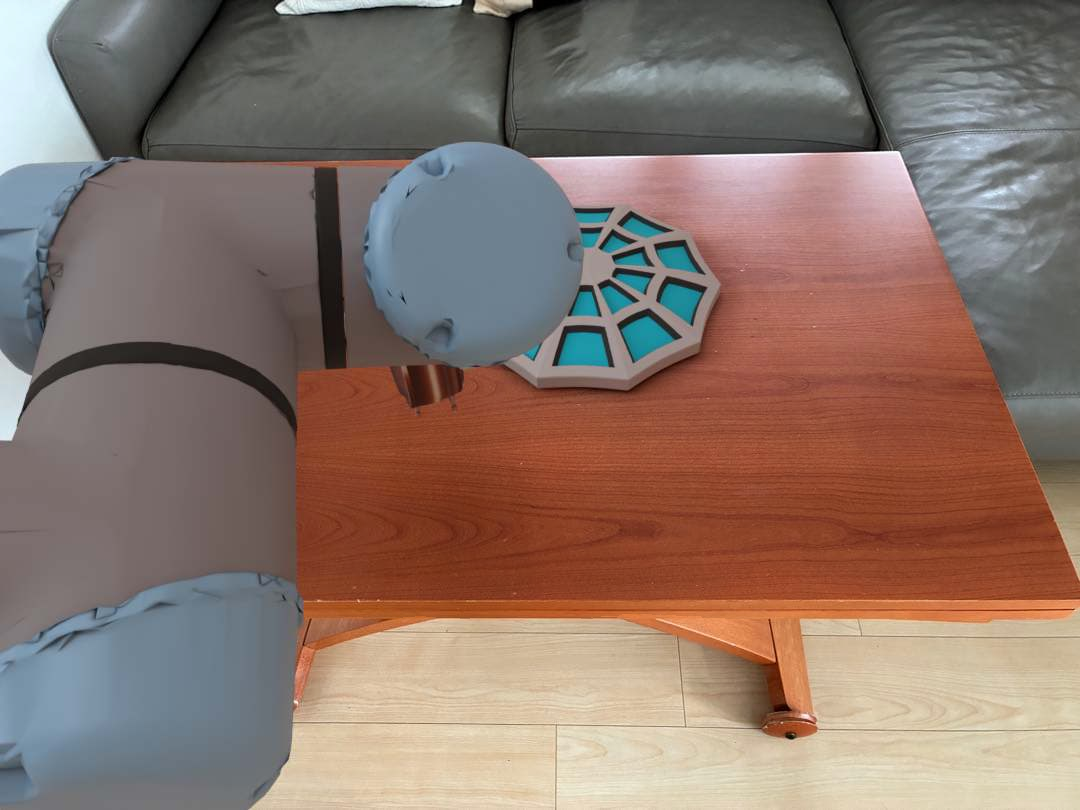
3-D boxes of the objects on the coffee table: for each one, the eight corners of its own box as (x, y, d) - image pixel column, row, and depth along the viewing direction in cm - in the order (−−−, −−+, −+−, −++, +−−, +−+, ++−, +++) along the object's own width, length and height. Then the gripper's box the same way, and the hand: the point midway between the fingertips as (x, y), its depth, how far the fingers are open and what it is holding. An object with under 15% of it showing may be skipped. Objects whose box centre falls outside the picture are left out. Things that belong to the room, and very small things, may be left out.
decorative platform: (438, 389, 82) (431, 358, 78) (471, 216, 100) (466, 184, 96) (730, 396, 80) (738, 364, 76) (709, 218, 98) (714, 185, 94)
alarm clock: (474, 424, 61) (451, 284, 50) (416, 443, 60) (379, 305, 49) (434, 334, 68) (405, 191, 56) (381, 350, 67) (340, 208, 55)
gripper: (287, 412, 38) (309, 390, 61) (612, 307, 42) (519, 323, 65) (235, 266, 37) (276, 299, 60) (572, 172, 41) (492, 236, 64)
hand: (402, 311), depth 62 cm, fingers closed on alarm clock, 5 cm apart
